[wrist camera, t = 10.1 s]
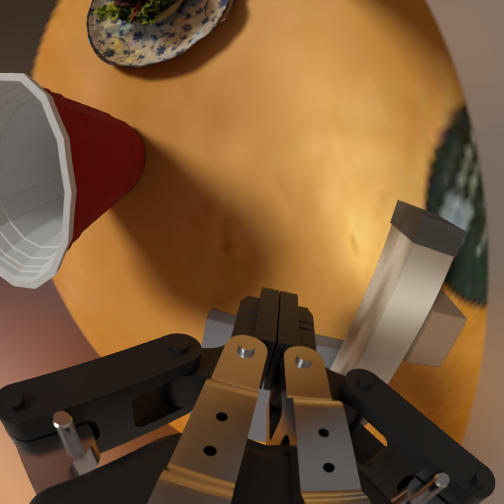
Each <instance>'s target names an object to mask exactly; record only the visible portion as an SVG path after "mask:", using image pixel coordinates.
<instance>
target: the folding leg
mask: <svg viewBox="0 0 504 504" xmlns="http://www.w3.org/2000/svg"><path fill="white" fill-rule="evenodd" d="M390 223H391V224H392V225H391V228H390V231H389V234H388V237H387V239H386V242H385V245H384V248H383V250H382V253H381V256H380V258H379V261H378V263H377V266H376V268H375V271H374V274H373V276H372V279H371V281H370V283H369V286H368V288H367V291H366V293H365V295H364V298H363V300H362V302H361V305H360V307H359V309H358V312H357V314H356V316H355V318H354V321H353V323H352V325H351V327H350V329H349V331H348V334H347V336H346V338H345V340H344V342H343V344H342V346H341V348H340V350H339V352H338V354H337V356H336V358H335V360H334V362H333V364H332V366H331V368H330V370H332V371H334V372H337V373H339V374H342V375H345V376H346V374H347V372H348V371H350V370H352V369H358V368H359V369H365V370H368V371H371V372H372V373H374V374H375V375H377V376H378V377H379V378H380V379H381V380H383V381H384V382H385V383H386V384H388V383H389V381H390V380H391V378H392V377H393V375H394V373H395V372H396V370H397V369H398V367H399V365H400V364H401V362H402V360H403V359H404V357H405V355H406V354H407V352H408V350H409V348H410V347H411V345H412V343H413V341H414V339H415V338H416V336H417V334H418V332H419V330H420V328H421V326H422V325H423V323H424V321H425V319H426V317H427V315H428V313H429V311H430V309H431V307H432V305H433V303H434V301H435V299H436V296H437V294H438V292H439V290H440V288H441V286H442V283H443V281H444V279H445V277H446V274H447V272H448V270H449V267H450V265H451V263H452V260H453V258H454V257H456V256H457V254H458V251H459V249H460V246H461V243H462V241H463V238H464V235H465V233H466V232H465V231H464V230H462V229H460V228H459V227H457V226H455V225H454V224H452V223H450V222H449V221H447V220H445V219H443V218H442V217H440V216H438V215H436V214H434V213H431V212H429V211H426V210H424V209H421V208H418V207H416V206H413V205H410V204H408V203H405V202H402V201H399V200H398V201H397V204H396V207H395V210H394V213H393V216H392V219H391V222H390ZM367 423H368V421H367V420H366V419H365V418H364V420H363V421H362V423H361V424H362V425H363V426H364V425H366V424H367Z"/></svg>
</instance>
